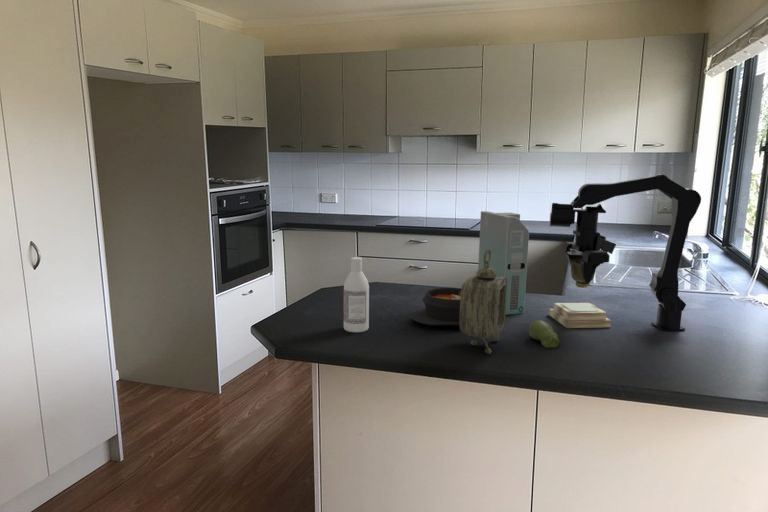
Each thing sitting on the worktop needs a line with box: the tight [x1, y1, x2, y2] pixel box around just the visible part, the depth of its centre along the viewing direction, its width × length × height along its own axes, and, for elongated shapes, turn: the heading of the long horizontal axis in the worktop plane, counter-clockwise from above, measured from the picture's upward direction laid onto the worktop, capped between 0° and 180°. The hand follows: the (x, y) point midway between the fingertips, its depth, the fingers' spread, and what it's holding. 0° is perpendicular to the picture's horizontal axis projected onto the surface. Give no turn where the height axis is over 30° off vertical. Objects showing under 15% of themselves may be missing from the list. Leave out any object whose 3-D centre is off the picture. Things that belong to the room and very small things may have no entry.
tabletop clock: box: [459, 249, 507, 355], centre depth 143 cm, size 14×9×25 cm, turn 158°
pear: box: [528, 319, 560, 349], centre depth 148 cm, size 6×5×10 cm
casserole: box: [409, 287, 461, 328], centre depth 165 cm, size 25×19×8 cm
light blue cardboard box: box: [477, 210, 530, 316], centre depth 179 cm, size 16×8×30 cm, turn 19°
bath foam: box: [343, 256, 370, 333], centre depth 156 cm, size 7×7×20 cm
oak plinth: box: [548, 302, 612, 329], centre depth 168 cm, size 13×13×4 cm
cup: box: [570, 258, 597, 289], centre depth 166 cm, size 8×7×8 cm
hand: (582, 280), depth 166 cm, fingers closed on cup, 6 cm apart
